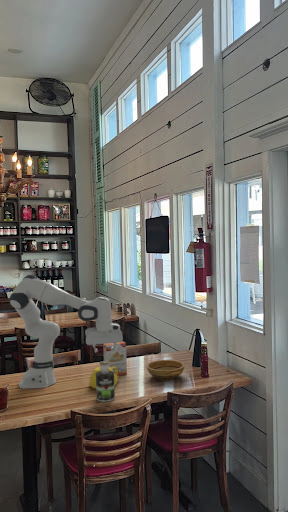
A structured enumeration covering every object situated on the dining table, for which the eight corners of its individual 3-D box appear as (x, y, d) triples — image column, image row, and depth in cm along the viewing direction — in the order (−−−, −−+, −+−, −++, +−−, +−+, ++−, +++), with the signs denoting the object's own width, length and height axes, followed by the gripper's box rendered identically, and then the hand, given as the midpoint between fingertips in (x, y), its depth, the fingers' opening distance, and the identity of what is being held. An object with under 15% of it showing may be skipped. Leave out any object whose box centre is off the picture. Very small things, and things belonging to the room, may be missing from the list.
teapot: (85, 384, 264) (84, 364, 264) (113, 379, 274) (112, 359, 273) (98, 394, 247) (98, 372, 247) (128, 387, 257) (127, 366, 256)
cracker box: (107, 378, 276) (105, 345, 275) (103, 375, 281) (102, 343, 280) (127, 374, 282) (126, 342, 281) (123, 372, 287) (122, 340, 286)
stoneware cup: (100, 375, 237) (100, 364, 236) (99, 372, 242) (98, 361, 242) (110, 374, 238) (110, 363, 238) (108, 371, 243) (108, 360, 243)
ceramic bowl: (194, 381, 264) (194, 368, 264) (158, 387, 255) (157, 374, 255) (172, 368, 292) (172, 356, 291) (139, 374, 282) (138, 361, 282)
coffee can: (116, 400, 236) (115, 375, 236) (97, 402, 235) (96, 376, 234) (114, 394, 246) (113, 369, 246) (95, 396, 245) (94, 371, 244)
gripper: (85, 329, 234) (86, 354, 234) (123, 326, 239) (123, 351, 239) (84, 327, 240) (85, 351, 240) (120, 324, 245) (121, 348, 246)
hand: (104, 351), depth 240 cm, fingers open, 8 cm apart
